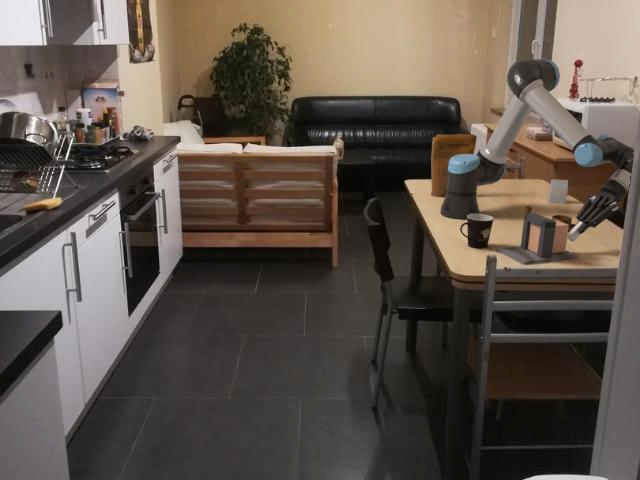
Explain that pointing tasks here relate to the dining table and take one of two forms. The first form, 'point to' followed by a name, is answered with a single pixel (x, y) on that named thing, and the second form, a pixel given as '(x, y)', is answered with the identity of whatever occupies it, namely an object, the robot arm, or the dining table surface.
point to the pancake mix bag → (447, 157)
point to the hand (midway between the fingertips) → (569, 238)
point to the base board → (534, 255)
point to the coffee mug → (478, 230)
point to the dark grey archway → (545, 233)
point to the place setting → (555, 217)
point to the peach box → (559, 237)
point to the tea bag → (558, 191)
